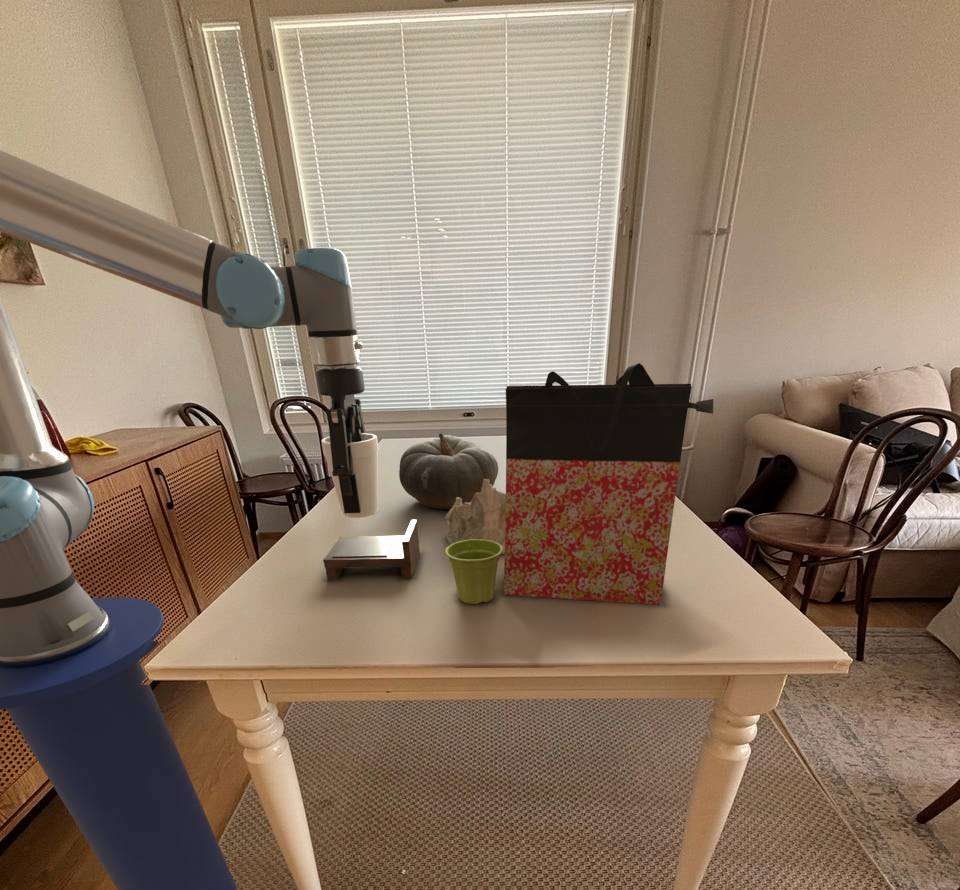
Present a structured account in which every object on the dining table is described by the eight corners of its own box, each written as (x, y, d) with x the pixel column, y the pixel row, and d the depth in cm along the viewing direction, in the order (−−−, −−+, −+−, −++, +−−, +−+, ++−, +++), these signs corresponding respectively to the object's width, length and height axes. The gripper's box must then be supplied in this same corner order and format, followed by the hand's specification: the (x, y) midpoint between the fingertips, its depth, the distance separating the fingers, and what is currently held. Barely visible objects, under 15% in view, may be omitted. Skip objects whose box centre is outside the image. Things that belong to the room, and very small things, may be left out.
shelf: (326, 580, 100) (319, 543, 96) (342, 555, 110) (336, 521, 106) (412, 578, 99) (408, 541, 95) (420, 553, 109) (417, 519, 105)
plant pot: (439, 604, 90) (435, 556, 85) (462, 582, 97) (459, 536, 92) (490, 613, 86) (489, 563, 82) (511, 589, 94) (510, 542, 89)
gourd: (453, 472, 155) (452, 411, 143) (517, 502, 142) (522, 437, 130) (384, 501, 141) (376, 435, 130) (448, 537, 129) (446, 468, 117)
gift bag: (500, 602, 89) (497, 368, 71) (513, 568, 101) (514, 360, 83) (685, 615, 84) (732, 364, 66) (676, 577, 96) (714, 356, 78)
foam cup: (326, 520, 96) (312, 444, 89) (344, 504, 103) (333, 433, 97) (377, 520, 94) (367, 443, 88) (392, 504, 102) (383, 433, 95)
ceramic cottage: (541, 544, 111) (538, 470, 103) (471, 564, 105) (462, 486, 98) (505, 527, 123) (500, 460, 116) (440, 544, 117) (430, 474, 110)
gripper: (344, 372, 77) (366, 523, 88) (374, 361, 96) (389, 486, 107) (293, 374, 77) (322, 524, 89) (333, 362, 96) (352, 487, 108)
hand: (359, 503), depth 98 cm, fingers closed on foam cup, 9 cm apart
